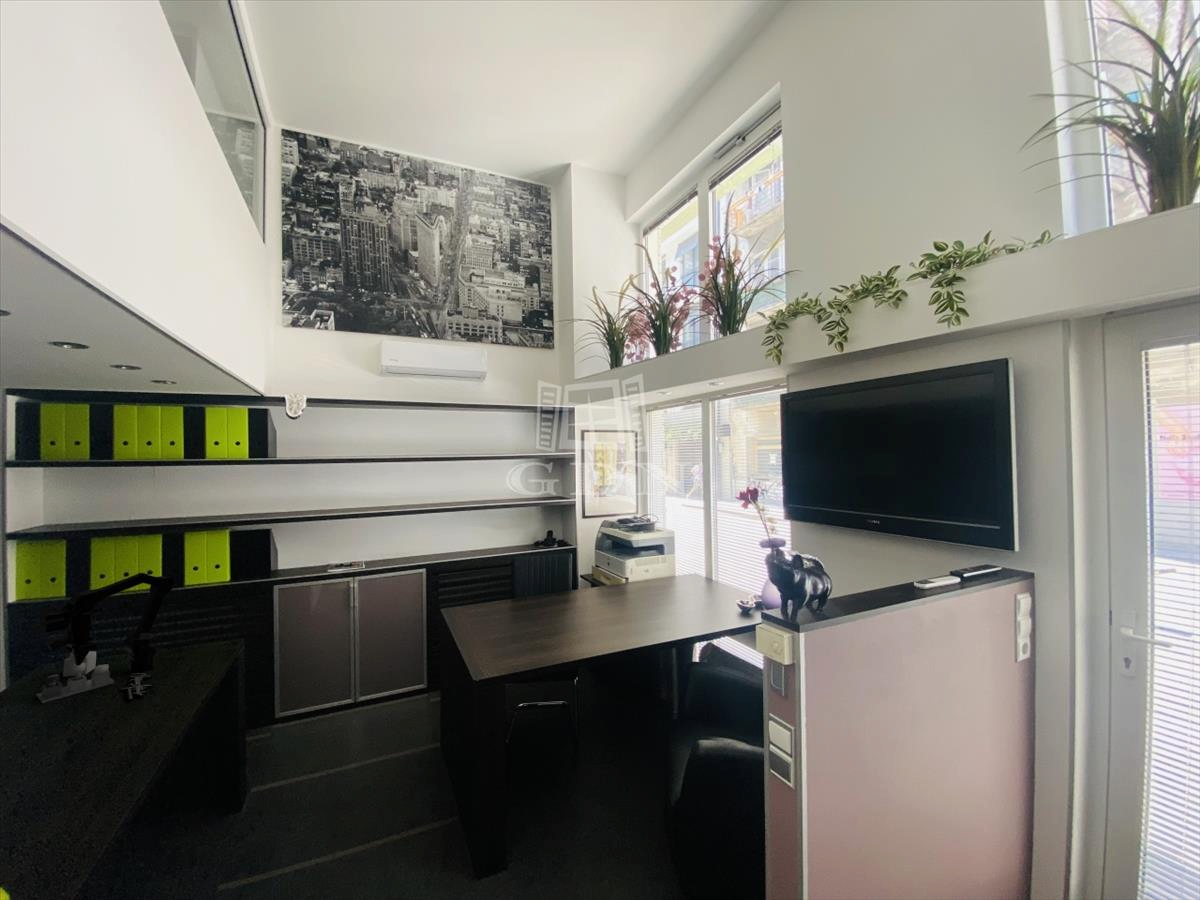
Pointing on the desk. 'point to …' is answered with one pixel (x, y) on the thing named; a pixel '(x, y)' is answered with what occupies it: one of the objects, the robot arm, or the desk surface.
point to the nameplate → (137, 686)
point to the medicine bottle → (89, 661)
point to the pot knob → (52, 680)
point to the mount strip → (74, 687)
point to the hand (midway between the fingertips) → (78, 665)
